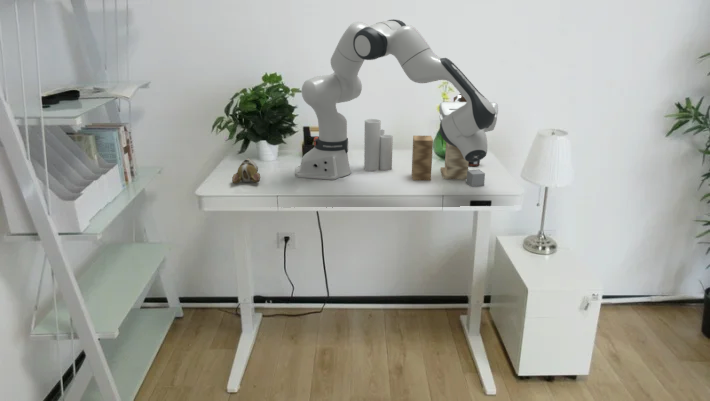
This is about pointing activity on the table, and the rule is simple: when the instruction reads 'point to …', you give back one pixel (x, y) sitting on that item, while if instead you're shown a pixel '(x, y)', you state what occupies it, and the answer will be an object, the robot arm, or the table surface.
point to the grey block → (475, 178)
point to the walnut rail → (461, 99)
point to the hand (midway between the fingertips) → (466, 96)
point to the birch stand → (454, 164)
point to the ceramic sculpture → (247, 172)
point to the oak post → (422, 157)
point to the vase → (377, 147)
